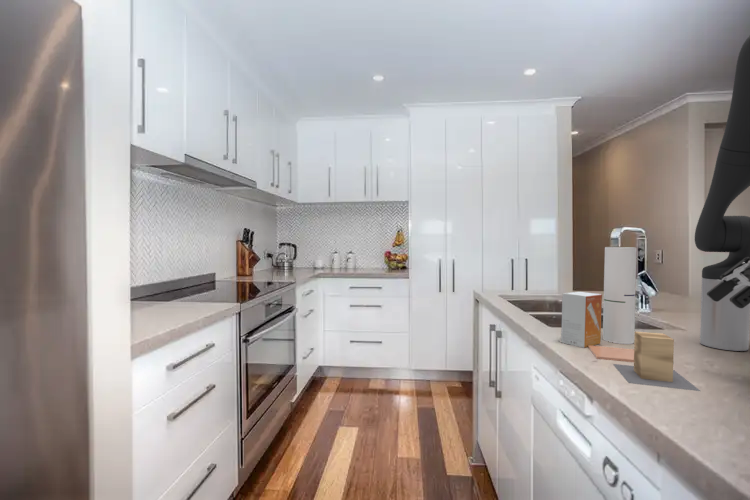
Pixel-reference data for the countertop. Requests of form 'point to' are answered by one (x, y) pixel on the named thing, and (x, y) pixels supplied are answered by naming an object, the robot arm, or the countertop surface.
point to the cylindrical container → (619, 294)
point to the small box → (581, 319)
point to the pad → (612, 353)
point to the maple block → (653, 356)
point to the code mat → (634, 378)
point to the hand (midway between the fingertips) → (722, 301)
